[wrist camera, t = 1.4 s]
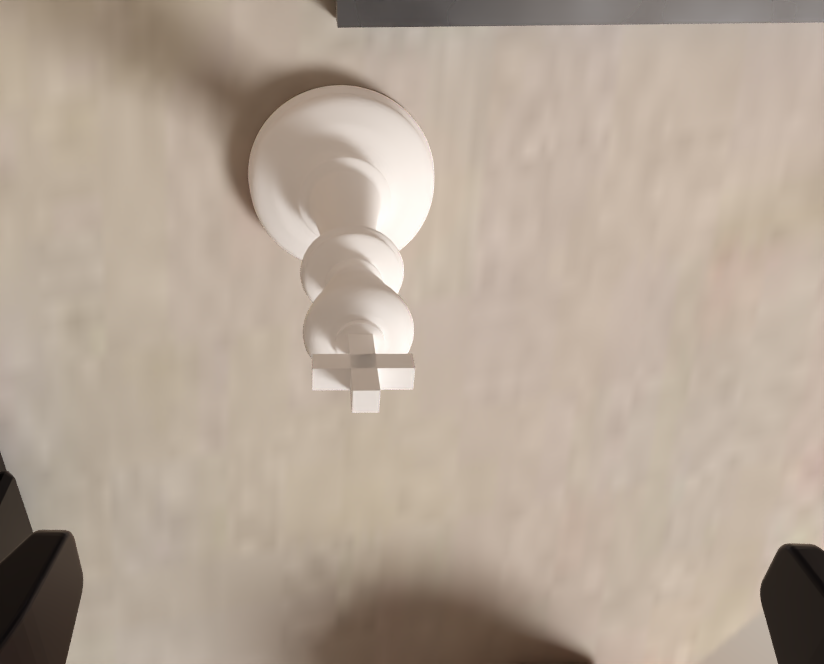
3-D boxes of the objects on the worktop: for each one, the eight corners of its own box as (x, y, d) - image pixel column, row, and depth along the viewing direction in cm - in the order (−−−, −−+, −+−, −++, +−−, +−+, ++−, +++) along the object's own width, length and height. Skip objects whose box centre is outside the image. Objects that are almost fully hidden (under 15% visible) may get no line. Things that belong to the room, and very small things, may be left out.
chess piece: (244, 80, 19) (195, 259, 11) (441, 88, 20) (541, 263, 11) (251, 260, 22) (216, 520, 13) (426, 262, 22) (497, 511, 14)
